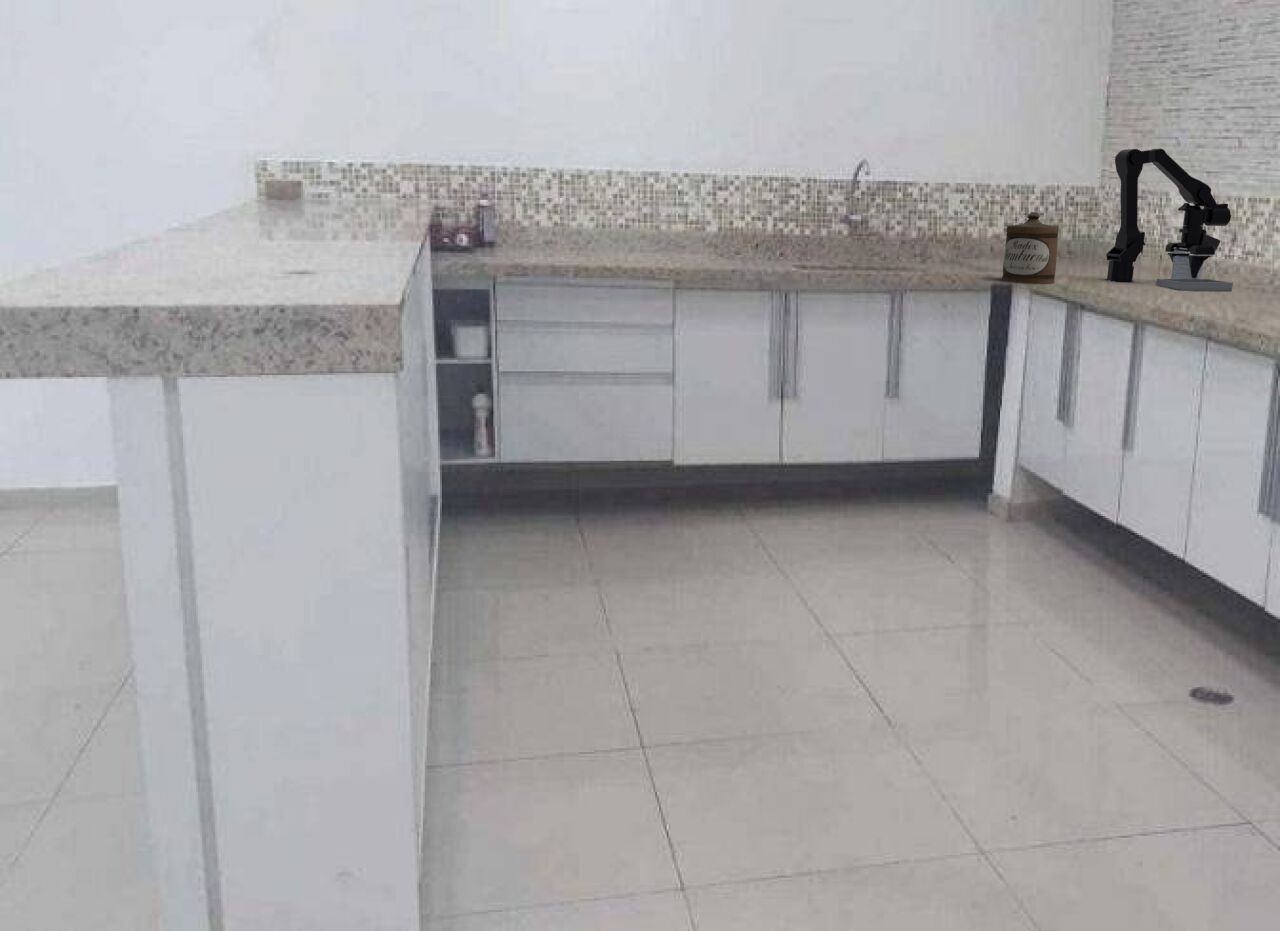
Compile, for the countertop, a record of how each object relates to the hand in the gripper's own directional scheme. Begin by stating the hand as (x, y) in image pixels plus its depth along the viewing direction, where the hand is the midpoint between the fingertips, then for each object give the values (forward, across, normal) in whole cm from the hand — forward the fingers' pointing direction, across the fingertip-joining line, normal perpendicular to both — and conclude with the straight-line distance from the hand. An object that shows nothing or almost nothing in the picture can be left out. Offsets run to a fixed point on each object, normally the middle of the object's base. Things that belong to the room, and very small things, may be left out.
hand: (1186, 276), depth 338 cm
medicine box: (+2, 0, 0) cm, 2 cm away
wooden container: (+2, -14, +56) cm, 58 cm away
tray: (+2, -17, +7) cm, 19 cm away
